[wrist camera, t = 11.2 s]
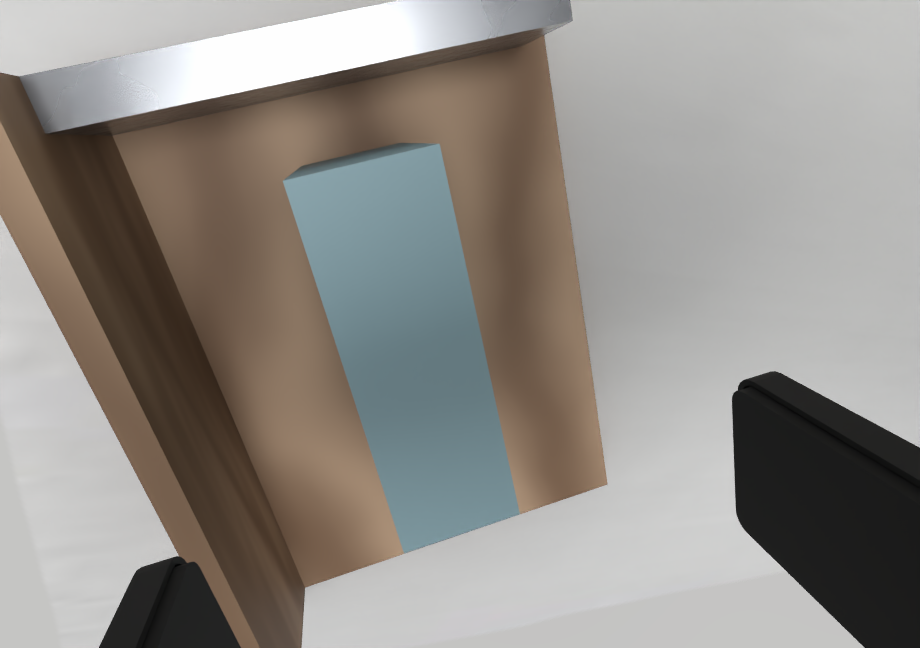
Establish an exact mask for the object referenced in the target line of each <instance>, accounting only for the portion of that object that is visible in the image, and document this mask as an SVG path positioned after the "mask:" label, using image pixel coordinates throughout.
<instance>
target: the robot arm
mask: <svg viewBox="0 0 920 648" xmlns="http://www.w3.org/2000/svg"><path fill="white" fill-rule="evenodd" d="M732 413H733V441H734V469H735V497H736V513H737V517H738V519H739V522H740V524H741V525H742V527H743V528H744V530H745V531H746V532H747V533H748V534H749V535H750V536H751V537H752V538H753V539H754V540H755V541H756V542H757V543H758V544H759V545H760V546H761V547H762V548H763V549H764V550H765V551H766V552H767V553H768V554H769V555H770V556H771V557H772V558H773V559H775V560H776V561H777V562H778V563H779V564H780V565H781V566H782V567H783V568H784V569H785V570H786V571H787V572H788V573H789V574H790V575H791V576H792V577H793V578H794V579H795V580H796V581H797V582H798V583H799V584H800V585H801V586H802V587H803V588H804V589H805V590H806V591H807V592H808V593H810V595H811V596H812V597H814V599H815V600H816V601H817V602H819V603H820V604H821V605H822V606H823V607H824V608H825V609H826V610H827V611H828V612H829V613H830V614H831V615H832V616H833V617H834V618H835V619H836V620H837V621H838V622H839V623H840V624H841V625H842V626H843V627H844V628H845V629H846V630H847V631H848V632H849V633H851V635H852V636H853V637H854V638H856V639H857V641H858V642H859V643H860V644H862V645H863V646H864V647H865V648H920V448H919V447H917V446H915V445H914V444H912V443H910V442H908V441H906V440H904V439H902V438H900V437H899V436H897V435H895V434H893V433H891V432H889V431H887V430H886V429H884V428H882V427H880V426H878V425H876V424H874V423H873V422H871V421H869V420H867V419H865V418H863V417H861V416H860V415H858V414H856V413H854V412H852V411H850V410H848V409H846V408H845V407H843V406H841V405H839V404H837V403H835V402H833V401H832V400H830V399H828V398H826V397H824V396H822V395H820V394H819V393H817V392H815V391H813V390H811V389H809V388H807V387H805V386H804V385H802V384H800V383H798V382H796V381H794V380H792V379H791V378H789V377H787V376H785V375H783V374H781V373H779V372H776V371H774V372H768V373H765V374H762V375H758V376H755V377H752V378H749V379H746V380H743V381H742V382H740V384H739V386H738V391H736V392H735V393H734V394H733V396H732ZM99 648H241V647H240V645H239V643H238V641H237V639H236V637H235V635H234V633H233V631H232V629H231V627H230V625H229V623H228V621H227V619H226V617H225V616H224V614H223V612H222V610H221V608H220V606H219V604H218V602H217V600H216V598H215V596H214V594H213V592H212V590H211V588H210V586H209V584H208V582H207V580H206V578H205V576H204V574H203V573H202V571H201V569H200V567H199V565H198V564H197V563H196V562H189V563H187V562H186V561H185V559H183V558H182V557H178V556H176V557H173V558H170V559H167V560H163V561H160V562H157V563H154V564H150V565H147V566H144V567H141V568H140V569H138V570H137V571H136V573H135V574H134V576H133V578H132V580H131V582H130V584H129V586H128V588H127V590H126V592H125V594H124V596H123V599H122V601H121V603H120V605H119V607H118V609H117V611H116V613H115V615H114V617H113V619H112V621H111V624H110V626H109V628H108V630H107V632H106V634H105V636H104V638H103V640H102V642H101V644H100V646H99Z"/></svg>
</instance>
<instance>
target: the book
mask: <svg viewBox="0 0 920 648" xmlns="http://www.w3.org/2000/svg"><path fill="white" fill-rule="evenodd" d="M283 183H284V186H285V189H286V193H287V196H288V199H289V202H290V205H291V208H292V211H293V214H294V217H295V220H296V223H297V226H298V229H299V232H300V236H301V239H302V242H303V245H304V248H305V251H306V254H307V257H308V260H309V263H310V266H311V269H312V272H313V275H314V279H315V282H316V285H317V288H318V291H319V294H320V297H321V300H322V303H323V306H324V309H325V312H326V315H327V319H328V322H329V325H330V328H331V331H332V334H333V337H334V340H335V343H336V346H337V349H338V352H339V355H340V358H341V362H342V365H343V368H344V371H345V374H346V377H347V380H348V383H349V386H350V389H351V392H352V395H353V398H354V401H355V405H356V408H357V411H358V414H359V417H360V420H361V423H362V426H363V429H364V432H365V435H366V438H367V441H368V444H369V448H370V451H371V454H372V457H373V460H374V463H375V466H376V469H377V472H378V475H379V478H380V481H381V484H382V488H383V491H384V494H385V497H386V500H387V503H388V506H389V509H390V512H391V515H392V518H393V521H394V524H395V527H396V531H397V534H398V537H399V540H400V543H401V546H402V549H403V552H404V553H407V552H410V551H413V550H416V549H419V548H422V547H425V546H428V545H431V544H434V543H437V542H440V541H442V540H445V539H448V538H451V537H454V536H457V535H460V534H463V533H466V532H469V531H472V530H475V529H478V528H481V527H484V526H487V525H490V524H492V523H495V522H498V521H501V520H504V519H507V518H510V517H513V516H516V515H519V514H520V512H519V507H518V503H517V498H516V493H515V489H514V484H513V480H512V475H511V470H510V466H509V461H508V457H507V452H506V447H505V443H504V438H503V434H502V429H501V424H500V420H499V415H498V411H497V406H496V401H495V397H494V392H493V387H492V383H491V378H490V374H489V369H488V364H487V360H486V355H485V351H484V346H483V341H482V337H481V332H480V328H479V323H478V318H477V314H476V309H475V305H474V300H473V295H472V291H471V286H470V282H469V277H468V272H467V268H466V263H465V258H464V254H463V249H462V245H461V240H460V235H459V231H458V226H457V222H456V217H455V212H454V208H453V203H452V199H451V194H450V189H449V185H448V180H447V176H446V171H445V166H444V162H443V157H442V152H441V148H440V144H430V143H397V144H392V145H388V146H384V147H380V148H375V149H371V150H367V151H363V152H358V153H354V154H350V155H346V156H341V157H337V158H333V159H329V160H324V161H320V162H316V163H312V164H307V165H303V166H301V167H300V168H298V169H297V170H296V171H295V172H293V173H292V174H291V175H290V176H288V177H287V178H286V179H285V180H283Z"/></svg>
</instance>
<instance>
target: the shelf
mask: <svg viewBox="0 0 920 648" xmlns="http://www.w3.org/2000/svg"><path fill="white" fill-rule="evenodd" d="M571 21H573V20H572V12H571V4H570V0H399V1H394V2H389V3H384V4H379V5H374V6H369V7H364V8H359V9H354V10H349V11H344V12H339V13H334V14H329V15H324V16H319V17H314V18H309V19H304V20H299V21H294V22H289V23H284V24H279V25H274V26H269V27H264V28H259V29H254V30H249V31H244V32H239V33H234V34H229V35H224V36H219V37H214V38H209V39H204V40H199V41H194V42H189V43H184V44H179V45H174V46H169V47H164V48H159V49H154V50H149V51H144V52H139V53H134V54H129V55H124V56H119V57H114V58H109V59H104V60H99V61H94V62H89V63H84V64H79V65H74V66H69V67H64V68H59V69H54V70H49V71H44V72H39V73H34V74H29V75H24V76H14V75H9V74H4V73H0V215H1V217H2V219H3V221H4V223H5V225H6V226H7V228H8V230H9V232H10V234H11V236H12V238H13V240H14V242H15V244H16V246H17V247H18V249H19V251H20V253H21V255H22V257H23V259H24V261H25V263H26V265H27V267H28V268H29V270H30V272H31V274H32V276H33V278H34V280H35V282H36V284H37V286H38V288H39V289H40V291H41V293H42V295H43V297H44V299H45V301H46V303H47V305H48V307H49V309H50V310H51V312H52V314H53V316H54V318H55V320H56V322H57V324H58V326H59V328H60V329H61V331H62V333H63V335H64V337H65V339H66V341H67V343H68V345H69V347H70V349H71V350H72V352H73V354H74V356H75V358H76V360H77V362H78V364H79V366H80V368H81V370H82V371H83V373H84V375H85V377H86V379H87V381H88V383H89V385H90V387H91V389H92V391H93V392H94V394H95V396H96V398H97V400H98V402H99V404H100V406H101V408H102V410H103V412H104V413H105V415H106V417H107V419H108V421H109V423H110V425H111V427H112V429H113V431H114V433H115V434H116V436H117V438H118V440H119V442H120V444H121V446H122V448H123V450H124V452H125V454H126V455H127V457H128V459H129V461H130V463H131V465H132V467H133V469H134V471H135V473H136V474H137V476H138V478H139V480H140V482H141V484H142V486H143V488H144V490H145V492H146V494H147V495H148V497H149V499H150V501H151V503H152V505H153V507H154V509H155V511H156V513H157V515H158V516H159V518H160V520H161V522H162V524H163V526H164V528H165V530H166V532H167V534H168V536H169V537H170V539H171V541H172V543H173V545H174V547H175V549H176V551H177V553H178V555H179V557H182V558H183V559H185V561H186V562H187V563H189V562H196V563H197V564H198V565H199V567H200V569H201V571H202V573H203V574H204V576H205V578H206V580H207V582H208V584H209V586H210V588H211V590H212V592H213V594H214V596H215V598H216V600H217V602H218V604H219V606H220V608H221V610H222V612H223V614H224V616H225V617H226V619H227V621H228V623H229V625H230V627H231V629H232V631H233V633H234V635H235V637H236V639H237V641H238V643H239V645H240V647H241V648H301V645H302V629H303V612H304V596H305V587H308V586H311V585H314V584H317V583H320V582H323V581H326V580H328V579H331V578H334V577H337V576H340V575H343V574H346V573H349V572H352V571H355V570H358V569H361V568H364V567H367V566H369V565H372V564H375V563H378V562H381V561H384V560H387V559H390V558H393V557H396V556H399V555H402V554H405V553H404V552H403V549H402V546H401V543H400V540H399V537H398V534H397V531H396V527H395V524H394V521H393V518H392V515H391V512H390V509H389V506H388V503H387V500H386V497H385V494H384V491H383V488H382V484H381V481H380V478H379V475H378V472H377V469H376V466H375V463H374V460H373V457H372V454H371V451H370V448H369V444H368V441H367V438H366V435H365V432H364V429H363V426H362V423H361V420H360V417H359V414H358V411H357V408H356V405H355V401H354V398H353V395H352V392H351V389H350V386H349V383H348V380H347V377H346V374H345V371H344V368H343V365H342V362H341V358H340V355H339V352H338V349H337V346H336V343H335V340H334V337H333V334H332V331H331V328H330V325H329V322H328V319H327V315H326V312H325V309H324V306H323V303H322V300H321V297H320V294H319V291H318V288H317V285H316V282H315V279H314V275H313V272H312V269H311V266H310V263H309V260H308V257H307V254H306V251H305V248H304V245H303V242H302V239H301V236H300V232H299V229H298V226H297V223H296V220H295V217H294V214H293V211H292V208H291V205H290V202H289V199H288V196H287V193H286V189H285V186H284V183H283V180H285V179H286V178H287V177H288V176H290V175H291V174H292V173H293V172H295V171H296V170H297V169H298V168H300V167H301V166H303V165H307V164H312V163H316V162H320V161H324V160H329V159H333V158H337V157H341V156H346V155H350V154H354V153H358V152H363V151H367V150H371V149H375V148H380V147H384V146H388V145H392V144H397V143H430V144H440V148H441V152H442V157H443V162H444V166H445V171H446V176H447V180H448V185H449V189H450V194H451V199H452V203H453V208H454V212H455V217H456V222H457V226H458V231H459V235H460V240H461V245H462V249H463V254H464V258H465V263H466V268H467V272H468V277H469V282H470V286H471V291H472V295H473V300H474V305H475V309H476V314H477V318H478V323H479V328H480V332H481V337H482V341H483V346H484V351H485V355H486V360H487V364H488V369H489V374H490V378H491V383H492V387H493V392H494V397H495V401H496V406H497V411H498V415H499V420H500V424H501V429H502V434H503V438H504V443H505V447H506V452H507V457H508V461H509V466H510V470H511V475H512V480H513V484H514V489H515V493H516V498H517V503H518V507H519V512H520V514H522V513H525V512H528V511H531V510H534V509H537V508H540V507H542V506H545V505H548V504H551V503H554V502H557V501H560V500H563V499H566V498H569V497H572V496H575V495H578V494H581V493H584V492H586V491H589V490H592V489H595V488H598V487H601V486H604V485H607V478H606V470H605V463H604V456H603V449H602V442H601V435H600V428H599V421H598V414H597V407H596V400H595V393H594V386H593V378H592V371H591V364H590V357H589V350H588V343H587V336H586V329H585V322H584V315H583V308H582V301H581V294H580V286H579V279H578V272H577V265H576V258H575V251H574V244H573V237H572V230H571V223H570V216H569V209H568V201H567V194H566V187H565V180H564V173H563V166H562V159H561V152H560V145H559V138H558V131H557V124H556V117H555V109H554V102H553V95H552V88H551V81H550V74H549V67H548V60H547V53H546V46H545V39H544V35H545V34H547V33H549V32H551V31H553V30H555V29H557V28H559V27H561V26H563V25H565V24H567V23H569V22H571ZM495 523H496V522H495ZM492 524H493V523H492ZM454 537H455V536H454ZM451 538H452V537H451ZM448 539H449V538H448ZM445 540H446V539H445ZM442 541H443V540H442ZM410 552H411V551H410ZM407 553H408V552H407Z"/></svg>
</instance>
